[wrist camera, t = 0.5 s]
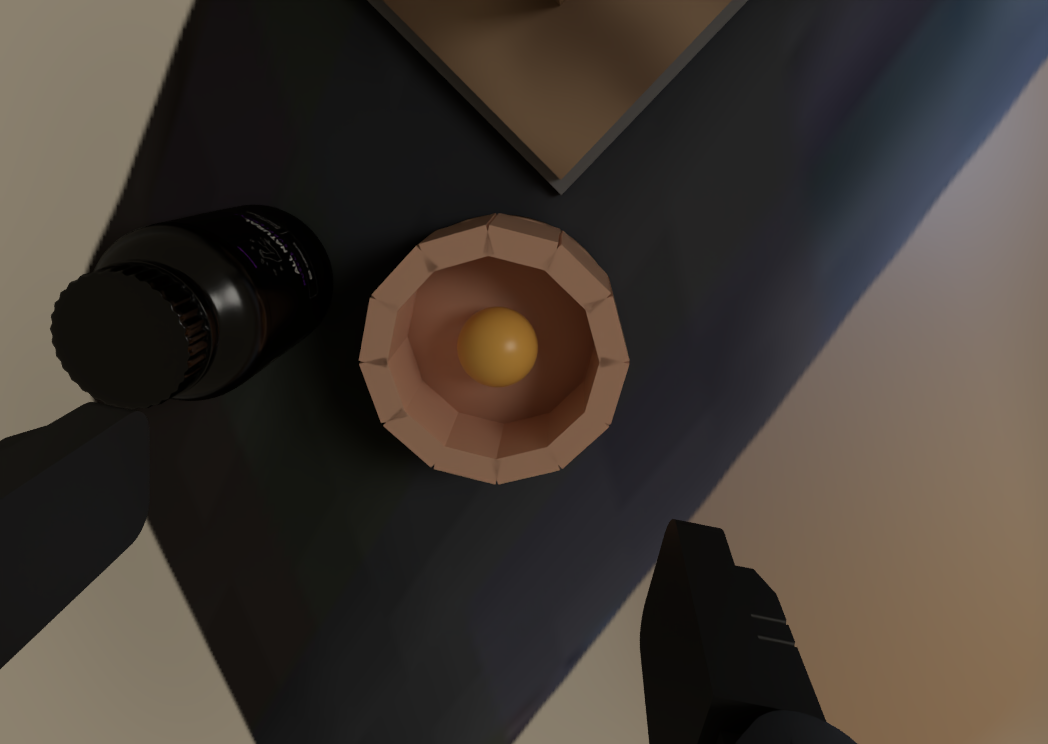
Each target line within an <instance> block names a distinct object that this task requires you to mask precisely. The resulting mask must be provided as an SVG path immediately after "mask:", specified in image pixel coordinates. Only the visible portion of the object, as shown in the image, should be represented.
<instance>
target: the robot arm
mask: <svg viewBox="0 0 1048 744" xmlns="http://www.w3.org/2000/svg"><path fill="white" fill-rule="evenodd" d="M149 438H150V431H149V422H148V419H147V417H146V415H145V414H144V413H142V412H140V411H135V410H130V409H125V408H120V407H115V406H110V405H105V404H100V403H95V402H89V403H86V404H83V405H82V406H80V407H78V408H76V409H75V410H73V411H71V412H70V413H68V414H66V415H64V416H63V417H61V418H59V419H58V420H56V421H54V422H53V423H51V424H49V425H47V426H44V427H40V428H37V429H33V430H30V431H27V432H23V433H20V434H17V435H13V436H10V437H7V438H5V439H3V440H1V441H0V669H1V668H2V667H3V666H4V665H5V664H6V663H7V662H8V661H9V660H10V659H11V658H12V657H14V655H16V654H17V653H18V652H19V651H20V650H21V649H22V648H23V647H24V646H25V645H26V644H27V643H28V642H29V641H30V640H31V639H32V638H34V637H35V636H36V635H37V634H38V633H39V632H40V631H41V630H42V629H43V628H44V627H45V626H46V625H47V624H48V623H49V622H50V621H51V620H52V619H54V618H55V617H56V616H57V615H58V614H59V613H60V612H61V611H62V610H63V609H64V608H65V607H66V606H67V605H68V604H69V603H70V602H71V601H72V600H74V599H75V597H76V596H78V595H79V594H80V593H81V592H82V591H83V590H84V589H85V588H86V587H87V586H88V585H89V584H90V583H91V582H92V581H94V580H95V579H96V578H97V577H98V576H99V575H100V574H101V573H102V572H103V571H104V570H105V569H106V568H107V567H108V566H109V565H110V564H111V563H112V562H113V561H115V560H116V559H117V558H118V557H119V556H120V555H121V554H122V553H123V552H124V551H125V550H126V549H127V548H128V547H129V546H130V545H131V544H132V543H133V542H134V541H135V540H136V538H137V537H138V535H139V534H140V532H141V530H142V528H143V526H144V523H145V521H146V518H147V514H148V509H149ZM640 630H641V631H640V653H641V663H642V672H643V673H642V674H643V683H644V694H645V704H646V714H647V724H648V735H649V744H857V743H856V742H854V741H853V740H852V739H851V738H850V737H849V736H847V735H846V734H845V733H843V732H842V731H840V730H839V729H837V728H836V727H834V726H832V725H830V724H829V723H827V722H826V720H825V717H824V715H823V712H822V710H821V707H820V705H819V702H818V699H817V697H816V694H815V692H814V689H813V687H812V684H811V682H810V679H809V677H808V674H807V671H806V669H805V666H804V664H803V661H802V659H801V656H800V653H799V651H798V648H797V647H794V644H795V641H794V638H793V636H792V633H791V630H790V628H789V625H786V618H785V615H784V613H783V610H782V607H781V605H780V602H779V600H778V597H777V595H776V593H775V592H774V591H773V590H772V589H771V588H770V587H769V586H768V584H767V583H766V582H765V581H764V580H763V579H762V578H761V577H760V576H759V575H758V574H757V573H756V571H755V570H754V569H750V568H745V567H740V566H735V564H734V561H733V558H732V555H731V552H730V549H729V546H728V543H727V540H726V537H725V534H724V531H723V530H722V529H720V528H716V527H711V526H705V525H701V524H696V523H691V522H686V521H681V520H675V519H672V520H671V521H670V522H669V524H668V526H667V529H666V532H665V535H664V538H663V542H662V545H661V549H660V552H659V556H658V559H657V563H656V566H655V570H654V573H653V577H652V580H651V584H650V587H649V591H648V595H647V598H646V601H645V605H644V610H643V615H642V621H641V629H640Z"/></svg>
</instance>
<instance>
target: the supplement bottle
mask: <svg viewBox="0 0 1048 744" xmlns="http://www.w3.org/2000/svg"><path fill="white" fill-rule="evenodd" d="M332 293H333V273H332V268H331V264H330V260H329V258H328V255H327V253H326V251H325V249H324V247H323V245H322V243H321V242H320V240H319V239H318V237H317V236H316V235H315V234H314V233H313V231H312V230H311V229H310V228H309V227H308V226H307V225H305V224H304V223H303V222H302V221H300V220H299V219H298V218H296V217H294V216H293V215H291V214H289V213H287V212H285V211H283V210H280V209H277V208H274V207H270V206H264V205H244V206H238V207H232V208H227V209H222V210H217V211H213V212H208V213H203V214H199V215H194V216H189V217H185V218H180V219H175V220H171V221H166V222H161V223H157V224H152V225H149V226H145V227H142V228H139V229H136V230H134V231H132V232H129V233H128V234H126V235H124V236H122V237H121V238H120V239H118V240H117V241H116V242H114V243H113V244H112V245H111V246H110V247H109V248H108V249H107V250H106V252H105V253H104V254H103V255H102V257H101V259H100V260H99V262H98V263H97V265H96V267H95V269H94V271H93V272H90V273H87V274H83V275H82V276H80V277H79V278H78V280H75V281H72V282H71V283H69V285H68V287H67V289H66V290H64V291H62V292H61V293H60V298H59V300H58V301H56V302H55V305H54V307H55V310H54V312H53V313H52V315H51V319H52V325H51V328H50V330H51V333H52V335H53V338H52V343H53V345H54V347H55V349H56V356H57V357H58V359H59V360H60V361H61V364H62V367H63V369H64V370H65V371H67V372H68V373H69V375H70V377H71V380H73V381H74V382H76V383H77V384H78V385H79V386H80V388H81V389H82V390H83V391H85V392H88V393H89V394H90V395H91V396H92V397H93V398H94V399H99V400H101V401H103V402H104V403H105V404H107V405H115V406H116V407H120V408H125V407H127V408H130V409H133V410H134V409H137V408H139V407H141V408H149V407H151V406H153V405H159V404H162V403H164V402H165V401H167V400H168V399H175V400H184V401H199V400H206V399H211V398H215V397H218V396H221V395H224V394H226V393H228V392H230V391H232V390H233V389H235V388H237V387H238V386H240V385H241V384H243V383H244V382H246V381H247V380H248V379H250V378H251V377H253V376H254V375H255V374H257V373H258V372H259V371H261V370H262V369H263V368H265V367H266V366H267V365H269V364H270V363H271V362H273V361H274V360H276V359H277V358H278V357H280V356H281V355H282V354H284V353H285V352H286V351H288V350H289V349H290V348H292V347H293V346H295V345H296V344H297V343H299V342H300V341H301V340H303V339H304V338H305V337H306V336H307V335H309V334H310V333H311V332H312V331H313V330H314V329H315V328H316V327H317V326H318V325H319V324H320V322H321V321H322V320H323V318H324V317H325V315H326V313H327V311H328V308H329V306H330V303H331V299H332Z"/></svg>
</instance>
